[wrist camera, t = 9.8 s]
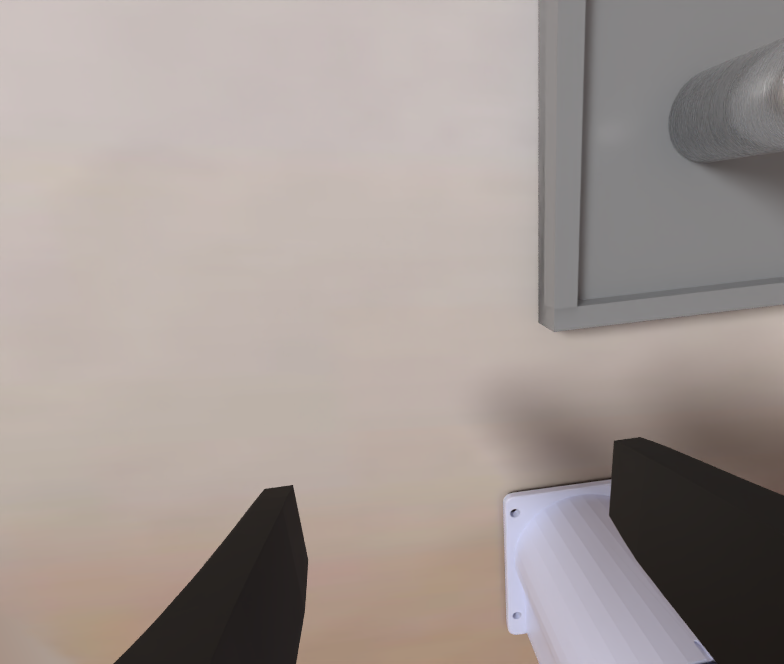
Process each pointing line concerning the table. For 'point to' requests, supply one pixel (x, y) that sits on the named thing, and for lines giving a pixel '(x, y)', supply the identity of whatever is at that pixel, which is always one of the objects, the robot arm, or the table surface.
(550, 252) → the tray
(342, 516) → the table surface
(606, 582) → the robot arm
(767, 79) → the steel pin
